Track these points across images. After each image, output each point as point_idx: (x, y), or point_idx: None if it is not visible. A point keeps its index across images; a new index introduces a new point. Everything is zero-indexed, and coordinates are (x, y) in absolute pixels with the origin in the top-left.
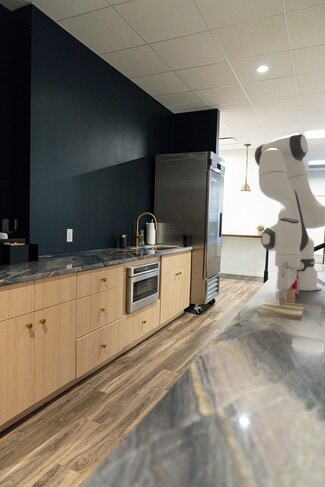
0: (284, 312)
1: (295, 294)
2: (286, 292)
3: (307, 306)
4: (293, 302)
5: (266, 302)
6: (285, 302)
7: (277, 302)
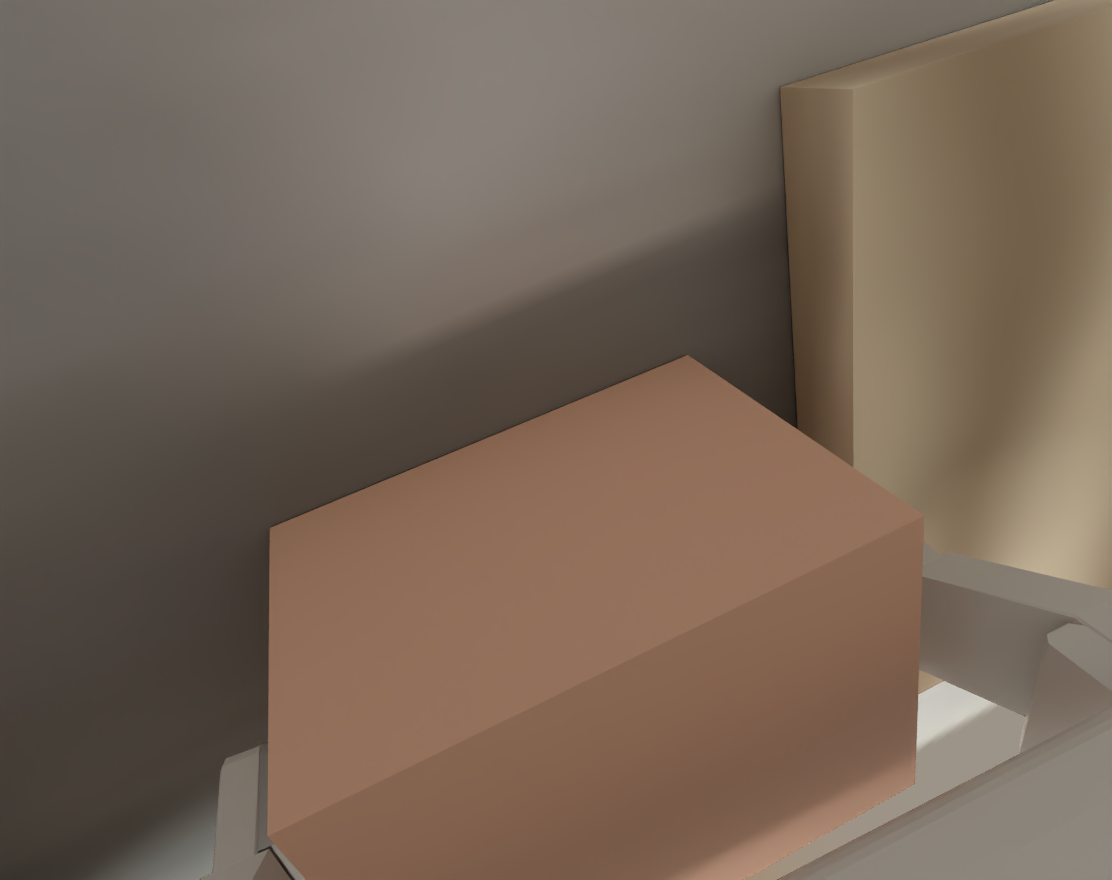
0: None
1: None
2: (1091, 595)
3: (505, 86)
4: (731, 391)
5: None
6: (881, 470)
7: (943, 547)
